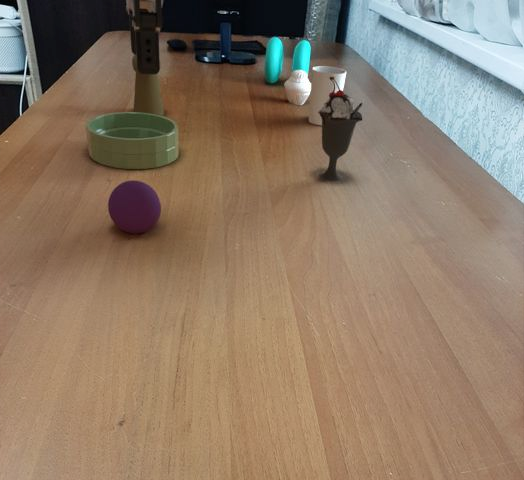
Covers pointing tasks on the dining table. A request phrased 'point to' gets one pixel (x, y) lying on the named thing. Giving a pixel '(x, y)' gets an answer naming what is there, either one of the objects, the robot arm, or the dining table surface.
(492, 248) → the dining table surface
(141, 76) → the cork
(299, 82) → the muffin
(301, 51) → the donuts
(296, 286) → the dining table surface
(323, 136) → the sundae
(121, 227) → the ball
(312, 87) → the white paper cup
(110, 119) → the bowl
